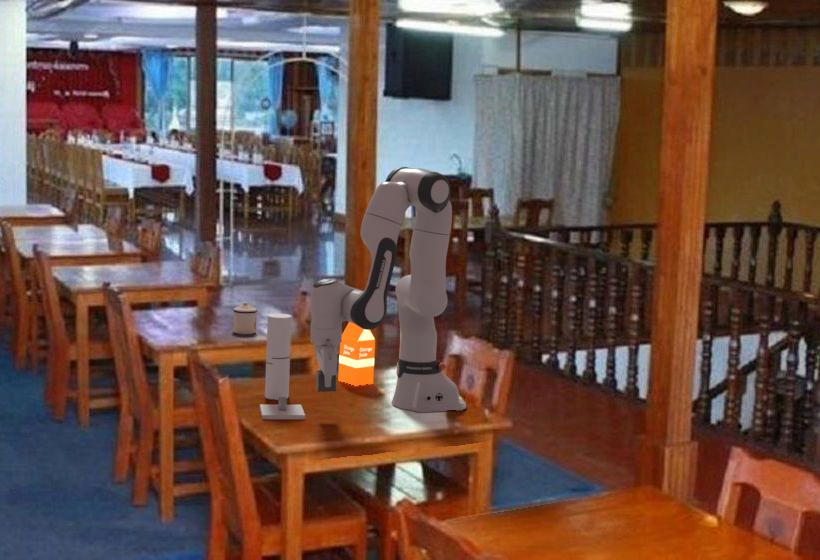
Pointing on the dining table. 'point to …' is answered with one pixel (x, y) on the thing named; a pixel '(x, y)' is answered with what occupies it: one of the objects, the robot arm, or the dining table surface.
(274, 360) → the cylindrical container
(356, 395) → the dining table surface
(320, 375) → the dark grey cube block
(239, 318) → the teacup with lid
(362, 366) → the orange juice
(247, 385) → the dining table surface
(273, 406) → the shaft base
